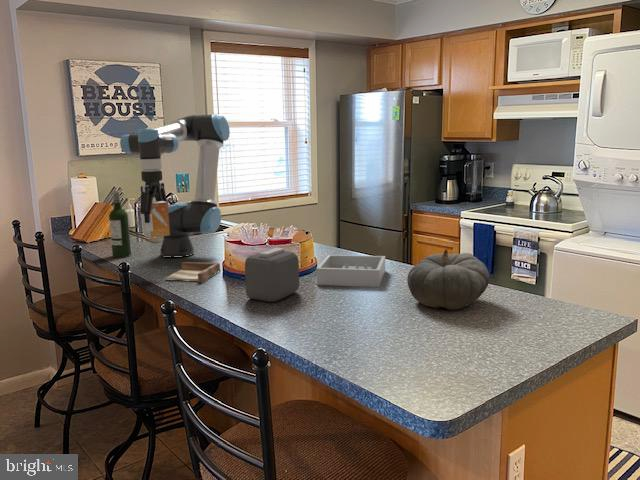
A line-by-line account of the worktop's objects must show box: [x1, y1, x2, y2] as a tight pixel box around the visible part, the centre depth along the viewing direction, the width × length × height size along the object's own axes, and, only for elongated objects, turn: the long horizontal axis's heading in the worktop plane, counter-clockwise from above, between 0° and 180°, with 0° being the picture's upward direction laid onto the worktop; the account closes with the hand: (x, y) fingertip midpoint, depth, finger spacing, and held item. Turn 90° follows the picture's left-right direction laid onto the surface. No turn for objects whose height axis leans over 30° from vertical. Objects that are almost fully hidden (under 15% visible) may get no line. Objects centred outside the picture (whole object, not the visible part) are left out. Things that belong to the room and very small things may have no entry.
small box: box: [141, 200, 170, 239], centre depth 211 cm, size 8×6×13 cm
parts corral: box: [315, 254, 386, 288], centre depth 205 cm, size 22×22×6 cm
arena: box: [164, 261, 221, 283], centre depth 212 cm, size 17×16×4 cm
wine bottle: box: [108, 189, 132, 259], centre depth 249 cm, size 8×8×30 cm
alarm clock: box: [244, 247, 300, 303], centre depth 183 cm, size 16×11×16 cm
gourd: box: [406, 248, 491, 311], centre depth 171 cm, size 25×25×17 cm
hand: (156, 228), depth 212 cm, fingers closed on small box, 10 cm apart
